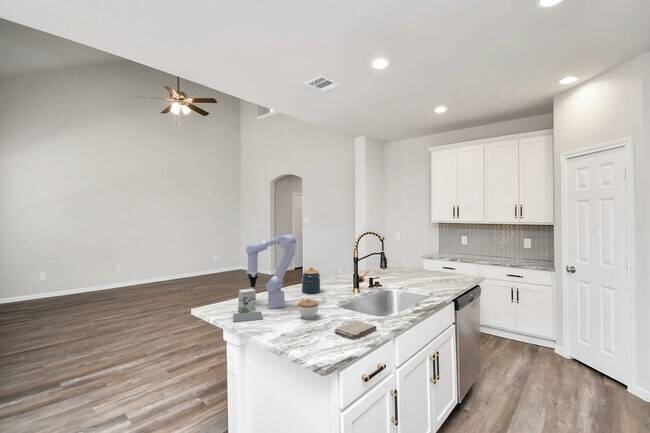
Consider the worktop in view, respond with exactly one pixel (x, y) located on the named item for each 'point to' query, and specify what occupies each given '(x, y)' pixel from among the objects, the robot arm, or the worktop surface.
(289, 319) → the worktop surface
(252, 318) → the mat
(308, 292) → the canister
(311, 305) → the lidded jar
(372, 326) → the washcloth
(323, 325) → the worktop surface
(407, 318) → the worktop surface
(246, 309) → the ink box
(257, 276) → the robot arm
